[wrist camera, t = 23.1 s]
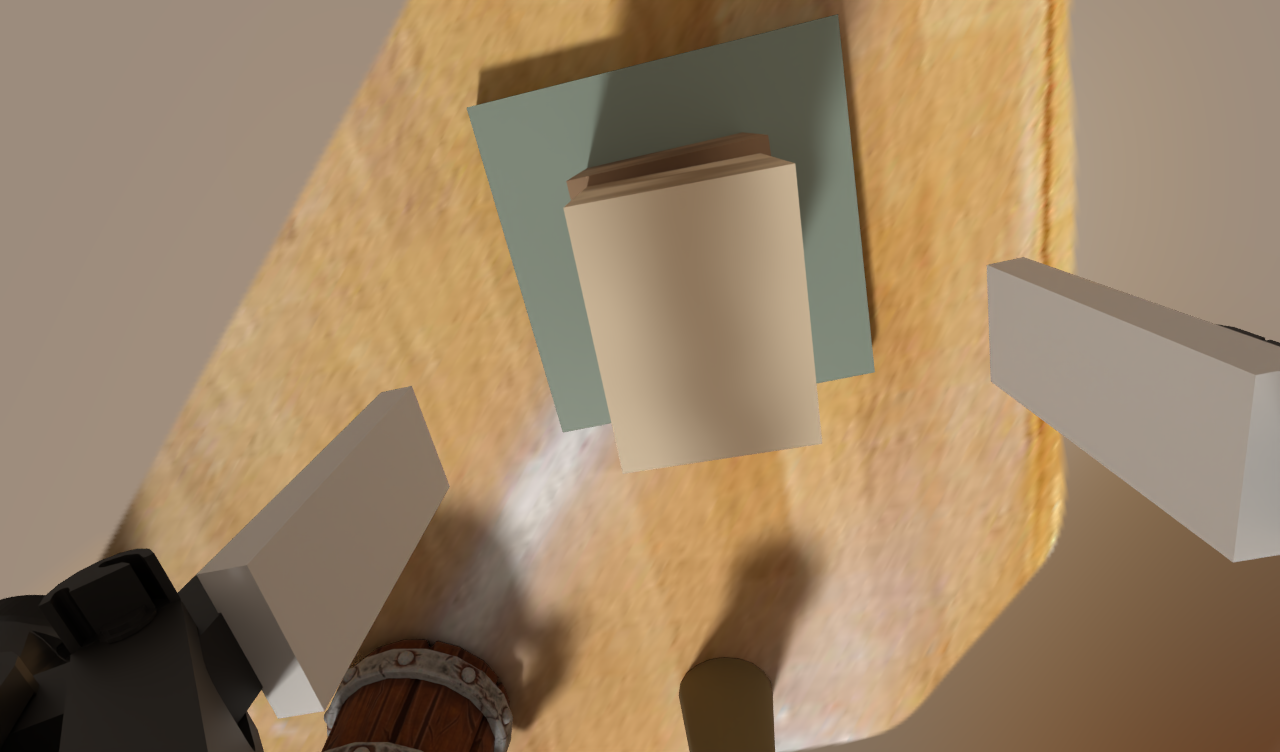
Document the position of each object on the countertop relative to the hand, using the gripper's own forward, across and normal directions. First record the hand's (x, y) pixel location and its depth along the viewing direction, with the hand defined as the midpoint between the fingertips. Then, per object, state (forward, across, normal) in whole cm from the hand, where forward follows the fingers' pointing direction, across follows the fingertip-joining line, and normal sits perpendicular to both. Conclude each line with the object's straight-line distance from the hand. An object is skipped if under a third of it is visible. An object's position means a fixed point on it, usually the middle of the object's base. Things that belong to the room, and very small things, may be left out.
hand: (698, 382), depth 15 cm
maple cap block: (+10, 0, 0) cm, 10 cm away
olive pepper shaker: (+18, -2, -29) cm, 34 cm away
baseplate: (+18, 0, 0) cm, 18 cm away
